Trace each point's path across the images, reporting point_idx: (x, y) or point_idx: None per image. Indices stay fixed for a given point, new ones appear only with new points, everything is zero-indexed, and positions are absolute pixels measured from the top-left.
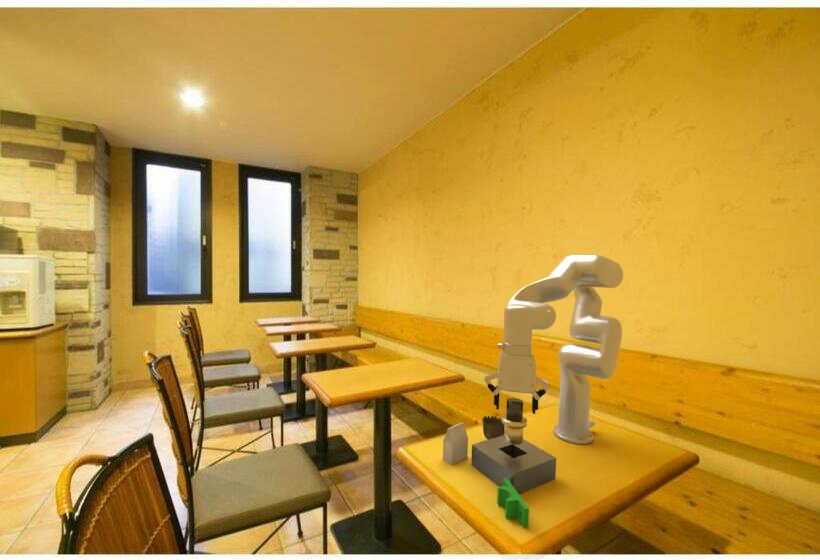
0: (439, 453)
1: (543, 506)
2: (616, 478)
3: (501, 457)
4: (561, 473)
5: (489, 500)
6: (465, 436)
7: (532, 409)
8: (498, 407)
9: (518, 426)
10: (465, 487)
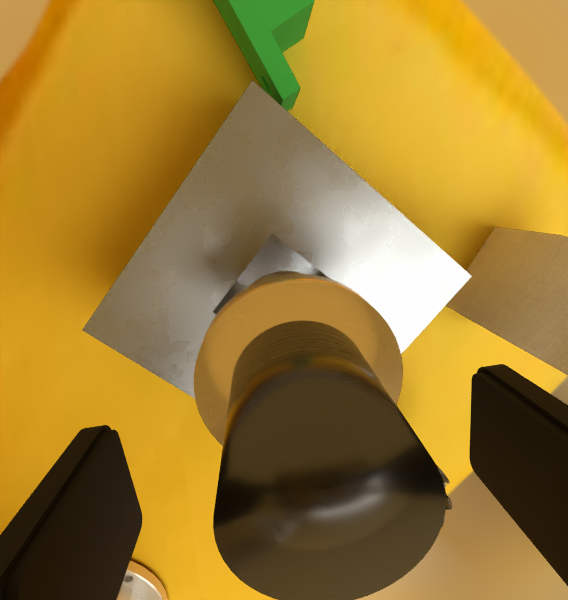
0: None
1: (138, 102)
2: None
3: (326, 217)
4: (106, 348)
5: (334, 49)
6: (510, 326)
7: (111, 478)
8: (491, 379)
9: (253, 288)
10: (430, 96)
